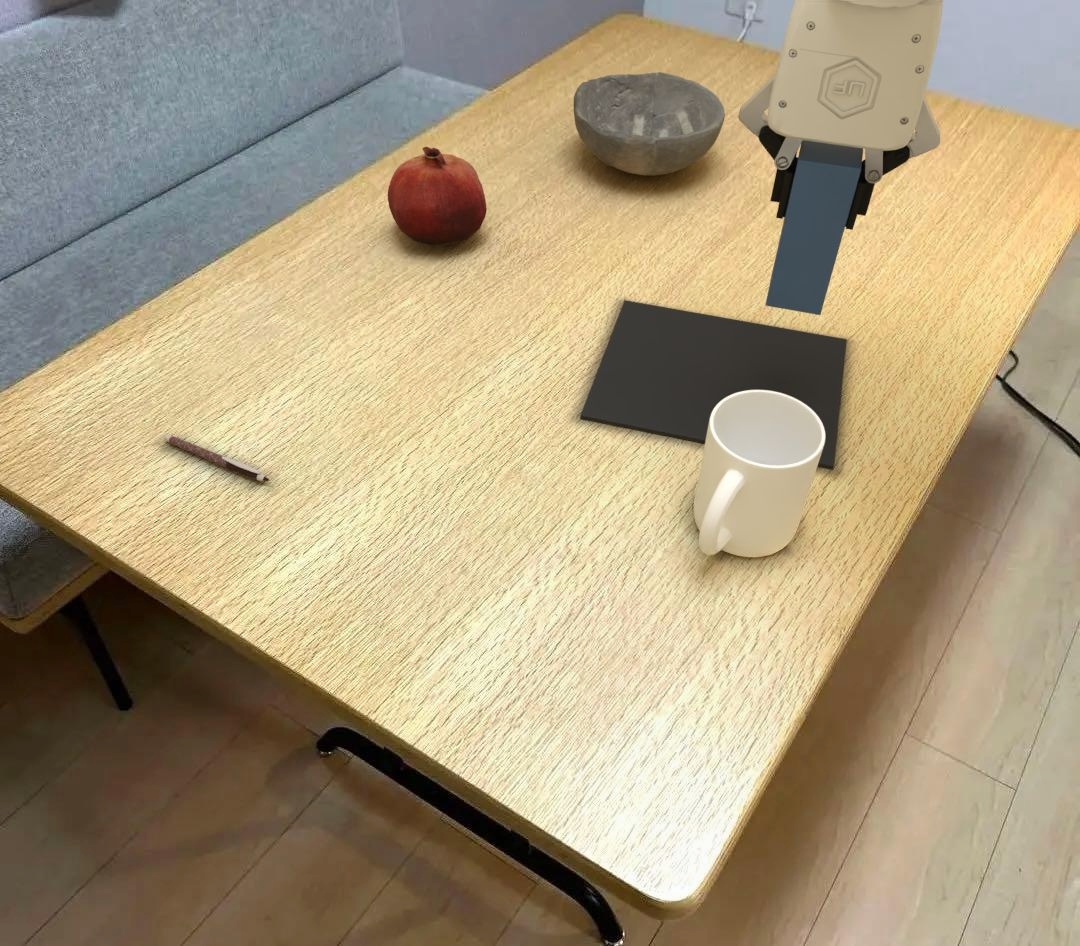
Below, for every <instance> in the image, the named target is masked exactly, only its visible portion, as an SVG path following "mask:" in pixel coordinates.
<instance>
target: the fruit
mask: <svg viewBox="0 0 1080 946" xmlns="http://www.w3.org/2000/svg"><path fill="white" fill-rule="evenodd" d="M421 150H422V151H423V153H422V154H419V155H417V156H414V157H412V158H409V159H408V160H405V161H404V162H402V163H401V164H400V165H399V166H398V167H397V168H396V169H395V171H394V172H393V175H392V176H391V179H390V181H389V184H388V185H389V186H388V189H387V202H388V207H389V211H390V214H391V216H392V218H393V221H394V223H395V224H396V226H397V228H398V229H399V230H400V231H401V232H402V234H403V235H404V236H406V237H407V238H408V239H409V240H411V241H413V242H415V243H417V244H421V245H428V246H429V245H430V246H443V245H450V244H457V243H463V242H466V241H468V240H469V239H470V238H472V236H474V235H476V233H477V232H478V231H479V230H480V229H481V227H482V225H483V223H484V220H485V219H486V215H487V210H488V209H487V200H486V196H485V195H486V194H485V192H484V187H483V184H482V182H481V179H480V178H479V175H478V172H477V170H476V169H475V168H474V166H473V165H472V164H471V163H470V162H469V161H467V160H465V159H464V158H461V157H459V156H456V155H453V154H449V153H442V152H441V150H440V149H439V148H436V147H429V146H424V147H422V149H421Z"/></svg>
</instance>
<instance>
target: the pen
mask: <svg viewBox="0 0 1080 946" xmlns="http://www.w3.org/2000/svg"><path fill="white" fill-rule="evenodd" d="M162 437H163V439H164V440H165V441H167V442H168V443H169V444H171V445H173V446H175V447H177V448H180V449H183V450H185V451H187V452H189V453H191V454H194V455H196V456H198V457H200V458H203V459H204V460H208V461H210V462H212V463H214V464H216V465H219V466H222V467H224V468H226V469H229V470H231V471H233V472H236V473H238V474H241V475H244V476H246V477H248V478H251V479H254V480H256V481H259V482H269V481H270V478H269V477H267V476H266V475H265V474H264V473H263V472H261V471H259V470H258V469H256V468H254V467H253V466H250V465H249V464H246V463H244V462H242V461H239V460H236V459H233V458H231V457H229V456H224V455H221V454H218V453H215V452H213V451H212V450H211V451H210V450H208V449H206V448H203V447H201V446H198V445H197V444H193V443H190V442H188V441H186V440H184V439H181V438H178V437H176V436H174V435H163V436H162Z"/></svg>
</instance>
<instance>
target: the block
mask: <svg viewBox="0 0 1080 946" xmlns="http://www.w3.org/2000/svg"><path fill="white" fill-rule="evenodd" d="M863 156H864V149H863V148H856V147H848V146H841V145H834V144H827V143H820V142H813V141H806V140H803V141H802V143H801V145H800V147H799V150H798V156H797V157H798V161H797V166H796V171H795V176H794V180H793V185H792V189H791V193H790V198H789V202H788V207H787V211H786V216H785V217H783V222H782V227H781V231H780V236H779V239H778V244H777V248H776V253H775V257H774V263H773V266H772V272H771V275H770V281H769V286H768V290H767V296H766V300H765V306H766V307H771V308H775V309H784V310H788V311H794V312H799V313H804V314H805V313H806V314H811V315H816V316H821V315H822V311H823V307H824V304H825V301H826V297H827V294H828V290H829V286H830V282H831V279H832V275H833V272H834V268H835V265H836V261H837V257H838V253H839V249H840V247H841V243H842V240H843V236H844V233H845V230H846V227H845V225H846V222H847V218H848V215H849V211H850V207H851V204H852V200H853V197H854V193H855V190H856V186H857V182H858V179H859V175H860V172H861V166H862V161H863Z"/></svg>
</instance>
